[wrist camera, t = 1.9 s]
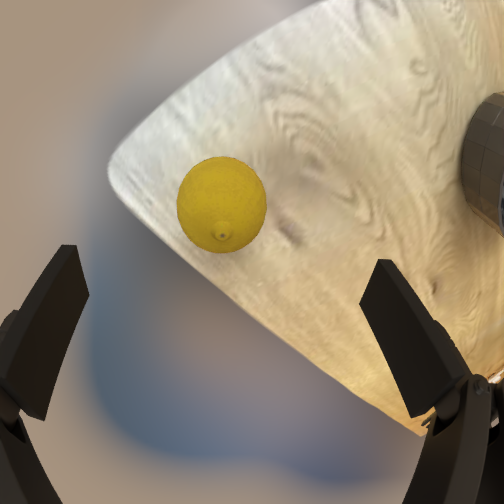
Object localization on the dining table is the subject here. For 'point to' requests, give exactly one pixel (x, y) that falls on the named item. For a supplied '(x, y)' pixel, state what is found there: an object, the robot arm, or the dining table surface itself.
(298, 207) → the dining table surface
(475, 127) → the black mixing bowl
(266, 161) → the dining table surface
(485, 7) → the dining table surface
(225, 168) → the lemon
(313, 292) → the dining table surface
